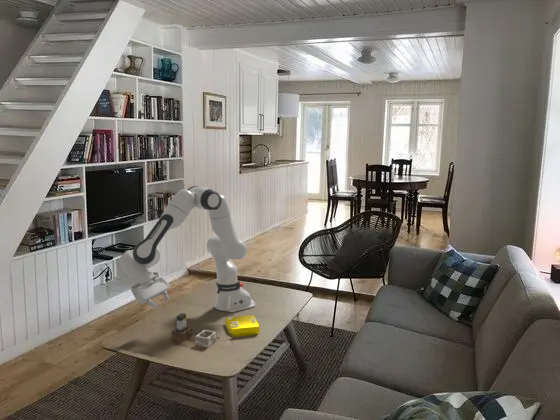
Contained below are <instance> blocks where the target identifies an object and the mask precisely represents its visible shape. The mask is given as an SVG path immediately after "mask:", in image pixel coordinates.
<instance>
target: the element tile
mask: <svg viewBox="0 0 560 420" xmlns="http://www.w3.org/2000/svg"><path fill="white" fill-rule="evenodd" d="M224 326H225V328H226V331H227V333H228V334H229V335H230V336H229V337H230V338H238V337H245V336H247V335H248V336H254V335H255V336H256V335H259V334H260V324H259V323H258V321H257V318H256V317H255V316H254V315H253V314H248V315H239V316H229V317H226V318H224Z"/></svg>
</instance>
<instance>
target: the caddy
mask: <svg viewBox="0 0 560 420" xmlns="http://www.w3.org/2000/svg"><path fill="white" fill-rule="evenodd" d="M186 326H187V325H186ZM220 339H221V337H219V336H218V331H215V330H209V329H203V330H202V331H201V332H199V333H198V332H194V331H193V327H192V326H187V330H185V331H184V332H177V327H176V328H175V329H173V330H172V331H171V339H169V340H168V341H167V342H166V343H168V344H172V345H178V346H182V347H186V348H191V349H196V350H202V351H207V350H208V349H209V348H210V347H211V346H213V345H214V344H215V343H216V342H217V341H219V340H220Z"/></svg>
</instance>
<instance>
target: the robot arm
mask: <svg viewBox="0 0 560 420" xmlns="http://www.w3.org/2000/svg"><path fill="white" fill-rule="evenodd" d="M194 208H197V209H202V210H206V211H208V215H209V220H210V224H211V225H210V226H211V229H212V231H213V232H214V234H215V236H210V237H209V239H208V240H207V243H206V249H207V251H208V252H209V253H210V255H211V257H212V259H213V262H214V264H215V265H214V266H215V269H216V270H215V271H216V283H215V289H216V290H215V291H216V298H215V303H214V308H215V310H218V311H223V312H229V313H235V312H238V311H242V310H244V311H245V310H246V309H251V308H255V307H256V302H255V301H254V300H253V299H252V297H251V294H250V293H249V292H248V291H247V290H245V289H244V288H243V286H244V283H242V282H241V281H239V280H238V267H237V266H236V264H235V263H234V262H233V260H234V261H235V260H236V261H237V260H240V261H241V260H242V259H244V258H245V257H246V255H247V253H248V246H247V244H246V243H245V242H244V241H243V240H242V239H241V237H240V236H239V234H238V233H237V231H236V229H235V227H234V224H233V220H232V214H231V210H230V206H229V203H228V200H227V199H226V196H225V195H224V194H219V193H218V192H217V191H216V190H215V189H212V188H210V187H206V186H198V185H193V186H190V187H188V188H187V189H179V190H178V192H176V193H175V194H174V196H173V197H172V198H171V200H170V201H169V202H168V203H167V205H166V207H165V208H164V211H163V212H162V214H161V215H160V218H158V221H156V223H155V225H154V226H153V227H152V229H150V231H149V233H148V234H147V235H146V237H145V238H144V239H143V240H141V241H139V243H137V244H136V245H135V246H134V248H133V249H131V250H130V249H128V250H126V251H124V253H122V254H121V256H120V257H119V260H118V263H119V265H120V268H121V269H122V270H123V272H124V274H126V276H127V277H129V278H130V280H131V283H133V285H132V286H131V289H130V291H131V292H132V294H133V297H134V298H135V300H136V302H137V303H138V304H139V305H143V304H145V303H146V304H147V305H148V306H150V307H152V308H153V309H155V308H157V307H158V304H157V302H153V301H152V299H155V298H156V297H159V296H160V295H162V296H163V297H164V298H163V300H164V301H165V302H168V301H169V300H170V297H169V295H168V294H169V293H168V292H167V291H168V290H170V284H169V283H168V281H167V280H166V279H165V278H164V277H163V276H161V273H160V272H159V271H149V268H151V267H154V266H156V265H157V264H158V263H159V261H160V259H161V253H160V250H159V249H158V246H159V244H160V243H161V241H162V240H163V238H164V237H165V235H167V233H168V232H169V231H170V230H172V229H176V228H179V227H181V225H182V224H183V223H184V222H185V220H186V219H188V216H189V215H190V213H191V211H192V209H194Z"/></svg>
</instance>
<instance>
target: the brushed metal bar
mask: <svg viewBox="0 0 560 420" xmlns="http://www.w3.org/2000/svg"><path fill="white" fill-rule="evenodd" d="M176 328H177V332H184V331H185V330H187V313H183V312H181V313H179V314H177V315H176Z"/></svg>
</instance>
